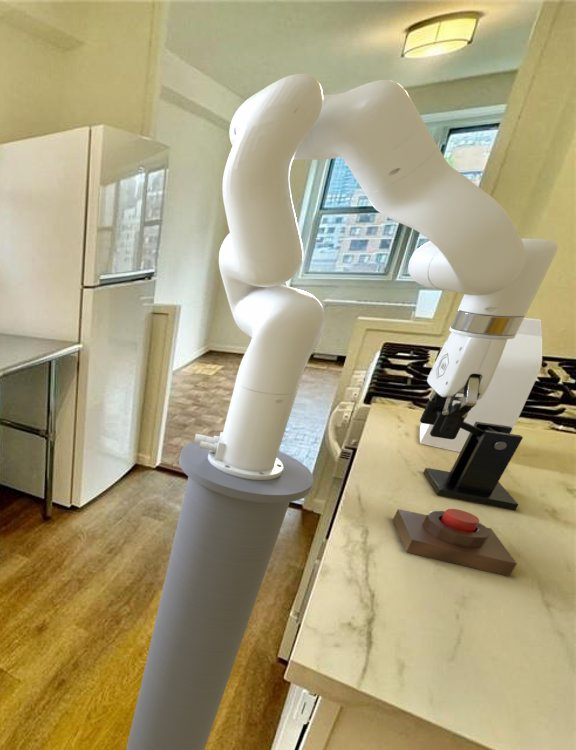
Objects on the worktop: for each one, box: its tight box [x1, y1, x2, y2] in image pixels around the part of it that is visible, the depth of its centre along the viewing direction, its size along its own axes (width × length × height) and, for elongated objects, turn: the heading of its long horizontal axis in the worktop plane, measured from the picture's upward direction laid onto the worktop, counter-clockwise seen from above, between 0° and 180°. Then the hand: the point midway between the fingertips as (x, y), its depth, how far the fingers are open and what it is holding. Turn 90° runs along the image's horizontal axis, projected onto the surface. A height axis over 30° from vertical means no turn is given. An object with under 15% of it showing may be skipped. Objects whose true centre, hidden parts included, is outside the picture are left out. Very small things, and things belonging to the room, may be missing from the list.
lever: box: [433, 407, 498, 441], centre depth 81 cm, size 10×6×2 cm, turn 63°
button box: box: [392, 508, 518, 577], centre depth 69 cm, size 11×9×4 cm
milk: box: [419, 317, 543, 453], centre depth 96 cm, size 12×12×26 cm
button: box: [440, 508, 480, 533], centre depth 68 cm, size 4×4×2 cm
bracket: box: [422, 422, 524, 511], centre depth 82 cm, size 10×9×12 cm
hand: (436, 429), depth 83 cm, fingers closed on lever, 5 cm apart
